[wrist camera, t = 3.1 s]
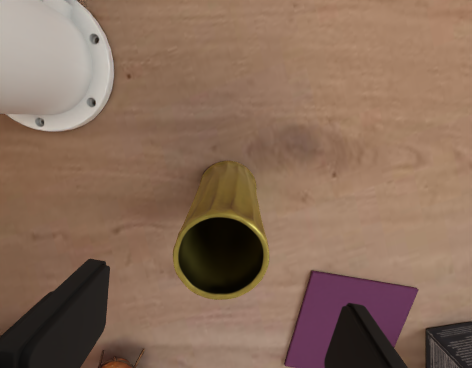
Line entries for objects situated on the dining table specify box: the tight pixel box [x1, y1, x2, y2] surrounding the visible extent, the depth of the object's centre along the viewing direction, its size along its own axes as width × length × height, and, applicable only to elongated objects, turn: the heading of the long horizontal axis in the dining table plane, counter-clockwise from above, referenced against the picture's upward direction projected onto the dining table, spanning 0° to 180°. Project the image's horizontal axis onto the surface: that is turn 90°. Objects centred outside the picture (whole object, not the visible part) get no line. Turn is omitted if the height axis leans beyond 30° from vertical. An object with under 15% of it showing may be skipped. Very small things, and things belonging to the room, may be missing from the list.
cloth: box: [285, 271, 418, 368], centre depth 32 cm, size 14×13×1 cm
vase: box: [173, 161, 269, 300], centre depth 20 cm, size 6×6×14 cm
